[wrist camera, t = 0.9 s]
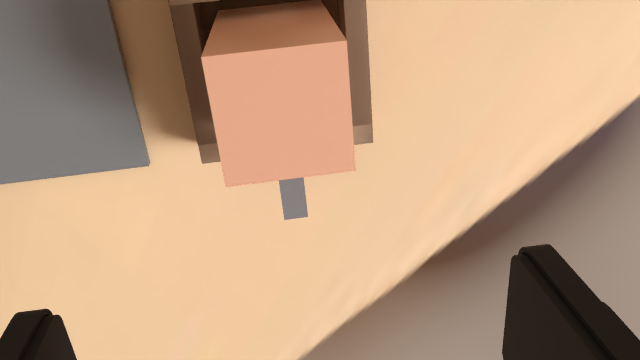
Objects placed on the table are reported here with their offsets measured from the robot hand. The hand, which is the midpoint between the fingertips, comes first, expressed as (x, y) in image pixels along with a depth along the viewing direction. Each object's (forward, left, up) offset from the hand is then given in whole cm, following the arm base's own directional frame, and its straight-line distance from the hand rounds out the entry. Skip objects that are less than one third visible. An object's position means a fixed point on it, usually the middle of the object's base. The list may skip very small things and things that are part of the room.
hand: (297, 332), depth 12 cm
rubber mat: (+15, 0, -25) cm, 29 cm away
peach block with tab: (0, +2, -25) cm, 25 cm away
